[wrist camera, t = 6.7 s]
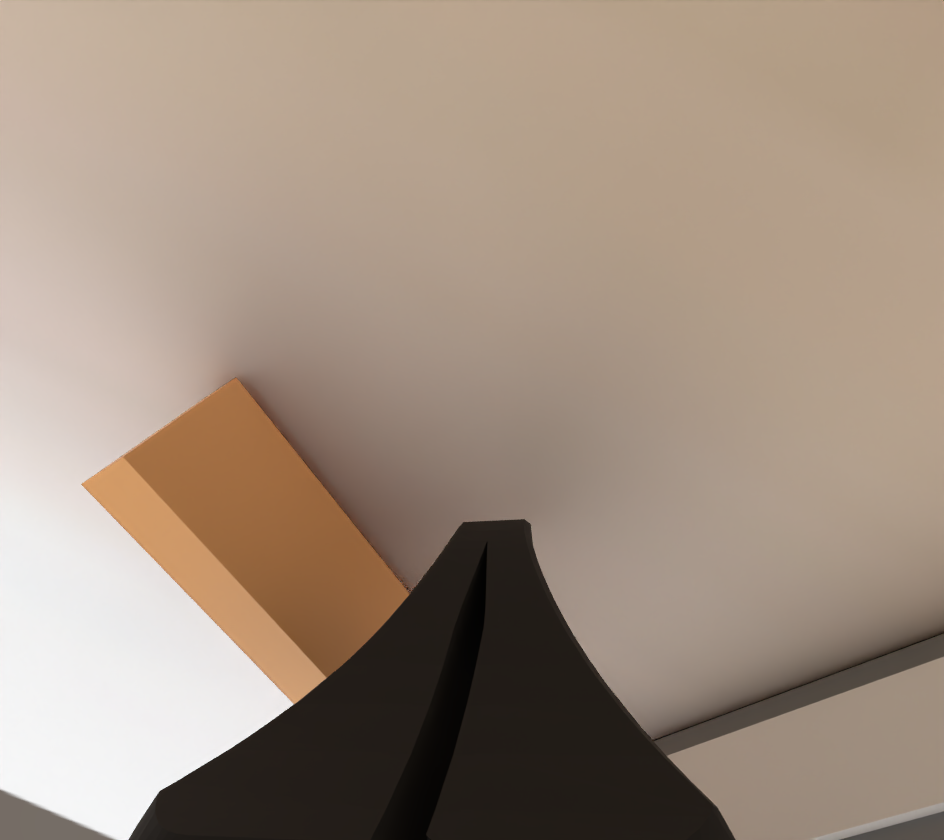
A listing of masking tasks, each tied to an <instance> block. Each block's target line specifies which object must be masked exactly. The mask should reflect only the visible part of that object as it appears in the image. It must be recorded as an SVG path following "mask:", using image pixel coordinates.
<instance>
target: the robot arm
mask: <svg viewBox="0 0 944 840" xmlns="http://www.w3.org/2000/svg"><path fill="white" fill-rule="evenodd" d="M129 840H736V839H735V838H734V836H733V834H732V832H731V830H730V829H729V827H728V825H727V823H726V821H725V819H724V818H723V816H722V814H721V812H720V811H719V809H718V807H717V806H716V805H715V804H714V803H713V802H712V801H711V800H710V799H709V798H708V797H707V796H706V795H705V794H704V793H703V792H702V791H701V790H700V789H698V788H697V787H696V786H695V785H694V784H693V783H692V782H691V781H690V780H689V779H688V778H687V777H686V775H685V774H684V773H683V772H682V771H681V770H680V769H679V768H678V767H677V766H676V765H675V764H674V763H673V762H672V761H671V760H670V759H669V758H668V757H667V756H666V755H665V754H664V752H663V751H662V750H661V749H660V748H659V747H658V746H657V745H656V743H655V742H654V741H653V740H652V739H651V738H650V737H649V736H648V735H647V733H646V732H645V731H644V730H643V729H642V728H641V727H640V725H639V724H638V723H637V722H636V720H635V719H634V718H633V717H632V715H631V714H630V713H629V712H628V711H627V709H626V708H625V707H624V706H623V704H622V703H621V702H620V701H619V699H618V698H617V697H616V696H615V694H614V693H613V692H612V691H611V689H610V688H609V687H608V686H607V684H606V683H605V681H604V680H603V679H602V677H601V676H600V674H599V673H598V672H597V670H596V669H595V667H594V666H593V664H592V663H591V662H590V660H589V659H588V657H587V656H586V654H585V652H584V651H583V649H582V648H581V646H580V645H579V643H578V642H577V640H576V638H575V637H574V635H573V633H572V632H571V630H570V628H569V626H568V625H567V623H566V621H565V619H564V617H563V616H562V614H561V612H560V610H559V608H558V606H557V604H556V602H555V600H554V598H553V596H552V594H551V592H550V590H549V587H548V585H547V583H546V580H545V578H544V576H543V574H542V571H541V569H540V566H539V563H538V561H537V557H536V554H535V551H534V548H533V542H532V533H531V524H530V523H528V522H527V521H526V520H525V519H521V520H500V521H480V522H463V523H462V524H461V525H460V527H459V528H458V529H457V531H456V532H455V534H454V535H453V537H452V538H451V539H450V541H449V542H448V544H447V545H446V547H445V548H444V550H443V551H442V552H441V554H440V555H439V557H438V558H437V559H436V561H435V562H434V564H433V565H432V566H431V568H430V569H429V570H428V571H427V573H426V574H425V575H424V577H423V578H422V579H421V581H420V582H419V583H418V584H417V586H416V587H415V588H414V590H413V591H412V592H411V593H410V594H409V596H408V597H407V598H406V599H405V600H404V601H403V603H402V604H401V605H400V606H399V607H398V608H397V610H396V611H395V612H394V613H393V614H392V615H391V616H390V618H389V619H388V620H387V621H386V622H385V623H384V624H383V625H382V627H381V628H380V629H379V630H378V631H377V632H376V633H375V634H374V635H373V636H372V637H371V638H370V639H369V640H368V641H367V642H366V643H365V644H364V645H363V646H362V647H361V648H360V649H359V650H358V651H357V652H356V653H355V654H354V655H353V656H352V657H351V658H349V659H348V660H347V661H346V662H345V663H344V664H343V665H342V666H341V667H339V668H338V669H337V670H336V671H334V672H333V673H332V674H331V675H330V676H328V677H327V678H326V679H325V680H324V681H322V682H321V683H320V684H319V685H318V686H316V687H315V688H314V689H313V690H311V691H310V692H309V693H308V694H307V695H305V696H304V697H303V698H302V699H300V700H299V701H298V702H297V703H295V704H294V705H293V706H291V707H290V708H289V709H287V710H286V711H284V712H283V713H282V714H280V715H279V716H278V717H276V718H275V719H274V720H272V721H271V722H269V723H268V724H266V725H265V726H263V727H262V728H261V729H259V730H258V731H256V732H255V733H253V734H252V735H250V736H249V737H248V738H246V739H245V740H243V741H241V742H240V743H238V744H237V745H235V746H234V747H232V748H231V749H229V750H228V751H226V752H224V753H223V754H221V755H219V756H218V757H216V758H214V759H213V760H211V761H210V762H208V763H206V764H205V765H203V766H201V767H200V768H198V769H196V770H195V771H193V772H191V773H190V774H188V775H187V776H185V777H183V778H182V779H180V780H178V781H177V782H175V783H173V784H171V785H170V786H168V787H166V788H164V789H163V790H161V791H160V792H159V793H158V794H157V796H156V797H155V799H154V800H153V802H152V803H151V805H150V806H149V808H148V810H147V811H146V813H145V814H144V816H143V817H142V819H141V820H140V822H139V823H138V825H137V826H136V828H135V830H134V831H133V833H132V835H131V836H130V838H129Z"/></svg>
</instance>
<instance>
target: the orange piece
mask: <svg viewBox="0 0 944 840" xmlns="http://www.w3.org/2000/svg"><path fill="white" fill-rule="evenodd" d="M81 485H82V486H83V487H84V488H85V489H86V490H87V491H88V492H89V493H90V494H91V495H92V496H93V497H94V498H95V499H96V500H97V501H98V502H99V503H100V504H101V505H102V506H103V507H104V508H105V509H106V510H107V511H108V512H109V513H110V515H111V516H112V517H113V518H114V519H115V520H116V521H117V522H118V523H119V524H120V525H121V526H122V527H123V528H124V529H125V530H126V531H127V532H128V533H129V534H130V535H131V536H132V537H133V538H134V539H135V540H136V541H137V542H138V543H139V544H140V546H141V547H142V548H143V549H144V550H145V551H146V552H147V553H148V554H149V555H150V556H151V557H152V558H153V559H154V560H155V561H156V562H157V563H158V564H159V565H160V566H161V567H162V568H163V569H164V570H165V571H166V572H167V573H168V574H169V575H170V576H171V578H172V579H173V580H174V581H175V582H176V583H177V584H178V585H179V586H180V587H181V588H182V589H183V590H184V591H185V592H186V593H187V594H188V595H189V596H190V597H191V598H192V599H193V600H194V601H195V602H196V603H197V604H198V605H199V606H200V607H201V609H202V610H203V611H204V612H205V613H206V614H207V615H208V616H209V617H210V618H211V619H212V620H213V621H214V622H215V623H216V624H217V625H218V626H219V627H220V628H221V629H222V630H223V631H224V632H225V633H226V634H227V635H228V636H229V637H230V638H231V640H232V641H233V642H234V643H235V644H236V645H237V646H238V647H239V648H240V649H241V650H242V651H243V652H244V653H245V654H246V655H247V656H248V657H249V658H250V659H251V660H252V661H253V662H254V663H255V664H256V665H257V666H258V667H259V668H260V669H261V670H262V672H263V673H264V674H265V675H266V676H267V677H268V678H269V679H270V680H271V681H272V682H273V683H274V684H275V685H276V686H277V687H278V688H279V689H280V690H281V691H282V692H283V693H284V694H285V695H286V696H287V697H288V698H289V699H290V700H291V701H292V703H293V704H295V703H297V702H298V701H299V700H300V699H302V698H303V697H304V696H305V695H307V694H308V693H309V692H310V691H311V690H313V689H314V688H315V687H316V686H318V685H319V684H320V683H321V682H322V681H324V680H325V679H326V678H327V677H328V676H330V675H331V674H332V673H333V672H334V671H336V670H337V669H338V668H339V667H341V666H342V665H343V664H344V663H345V662H346V661H347V660H348V659H349V658H351V657H352V656H353V655H354V654H355V653H356V652H357V651H358V650H359V649H360V648H361V647H362V646H363V645H364V644H365V643H366V642H367V641H368V640H369V639H370V638H371V637H372V636H373V635H374V634H375V633H376V632H377V631H378V630H379V629H380V628H381V627H382V625H383V624H384V623H385V622H386V621H387V620H388V619H389V618H390V616H391V615H392V614H393V613H394V612H395V611H396V610H397V608H398V607H399V606H400V605H401V604H402V603H403V601H404V600H405V599H406V598H407V597H408V596H409V592H408V591H407V590H406V589H405V587H404V586H403V585H402V584H401V582H400V581H399V580H398V579H397V577H396V576H395V575H394V574H393V572H392V571H391V570H390V569H389V568H388V566H387V565H386V564H385V563H384V561H383V560H382V559H381V558H380V556H379V555H378V554H377V553H376V551H375V550H374V549H373V548H372V546H371V545H370V544H369V543H368V541H367V540H366V539H365V538H364V536H363V535H362V534H361V533H360V531H359V530H358V529H357V528H356V526H355V525H354V524H353V523H352V521H351V520H350V519H349V518H348V516H347V515H346V514H345V513H344V511H343V510H342V509H341V508H340V506H339V505H338V504H337V503H336V501H335V500H334V499H333V498H332V496H331V495H330V494H329V493H328V491H327V490H326V489H325V488H324V486H323V485H322V484H321V483H320V481H319V480H318V479H317V478H316V476H315V475H314V474H313V473H312V471H311V470H310V469H309V468H308V466H307V465H306V464H305V463H304V461H303V460H302V459H301V458H300V456H299V455H298V454H297V453H296V451H295V450H294V449H293V448H292V446H291V445H290V444H289V443H288V441H287V440H286V439H285V438H284V436H283V435H282V434H281V433H280V431H279V430H278V429H277V428H276V427H275V425H274V424H273V423H272V422H271V420H270V419H269V418H268V417H267V415H266V414H265V413H264V412H263V410H262V409H261V408H260V407H259V405H258V404H257V403H256V402H255V400H254V399H253V398H252V397H251V395H250V394H249V393H248V392H247V390H246V389H245V388H244V387H243V385H242V384H241V383H240V382H239V380H238V379H237V378H234V379H233V380H231V381H230V382H228V383H227V384H225V385H224V386H222V387H221V388H219V389H218V390H216V391H215V392H213V393H212V394H210V395H209V396H207V397H205V398H204V399H202V400H201V401H200V402H198V403H197V404H195V405H194V406H192V407H191V408H190V409H188V410H187V411H185V412H184V413H182V414H181V415H180V416H178V417H177V418H175V419H174V420H172V421H171V422H170V423H168V424H167V425H165V426H164V427H162V428H161V429H160V430H158V431H157V432H155V433H154V434H152V435H151V436H150V437H148V438H147V439H145V440H144V441H142V442H141V443H140V444H138V445H137V446H135V447H134V448H132V449H131V450H130V451H128V452H127V453H125V454H124V455H122V456H121V457H119V458H118V459H117V460H115V461H114V462H112V463H111V464H109V465H108V466H107V467H105V468H104V469H102V470H101V471H99V472H98V473H97V474H95V475H94V476H92V477H91V478H89V479H88V480H87V481H85V482H84V483H82V484H81Z"/></svg>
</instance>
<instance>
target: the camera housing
mask: <svg viewBox="0 0 944 840" xmlns="http://www.w3.org/2000/svg"><path fill="white" fill-rule="evenodd" d="M654 742H655V743H656V745H657V746H658V747H659V748H660V749H661V750H662V751H663V752H664V754H665V755H666V756H667V757H668V758H669V759H670V760H671V761H672V762H673V763H674V764H675V765H676V766H677V767H678V768H679V769H680V770H681V771H682V772H683V773H684V774H685V775H686V777H687V778H688V779H689V780H690V781H691V782H692V783H693V784H694V785H695V786H696V787H697V788H698V789H700V790H701V791H702V792H703V793H704V794H705V795H706V796H707V797H708V798H709V799H710V800H711V801H712V802H713V803H714V804H715V805H716V806H717V807H718V809H719V811H720V812H721V814H722V816H723V818H724V819H725V821H726V823H727V825H728V827H729V829H730V830H731V832H732V834H733V836H734V838H735V839H736V840H944V634H941V635H938V636H936V637H933V638H930V639H928V640H925V641H922V642H920V643H917V644H914V645H911V646H909V647H906V648H903V649H901V650H898V651H895V652H893V653H890V654H887V655H884V656H882V657H879V658H876V659H874V660H871V661H868V662H866V663H863V664H860V665H857V666H855V667H852V668H849V669H847V670H844V671H841V672H839V673H836V674H833V675H831V676H828V677H825V678H822V679H820V680H817V681H814V682H812V683H809V684H806V685H804V686H801V687H798V688H795V689H793V690H790V691H787V692H785V693H782V694H779V695H777V696H774V697H771V698H768V699H766V700H763V701H760V702H758V703H755V704H752V705H750V706H747V707H744V708H741V709H739V710H736V711H733V712H731V713H728V714H725V715H723V716H720V717H717V718H714V719H712V720H709V721H706V722H704V723H701V724H698V725H696V726H693V727H690V728H687V729H685V730H682V731H679V732H677V733H674V734H671V735H669V736H666V737H663V738H660V739H658V740H655V741H654Z"/></svg>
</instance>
